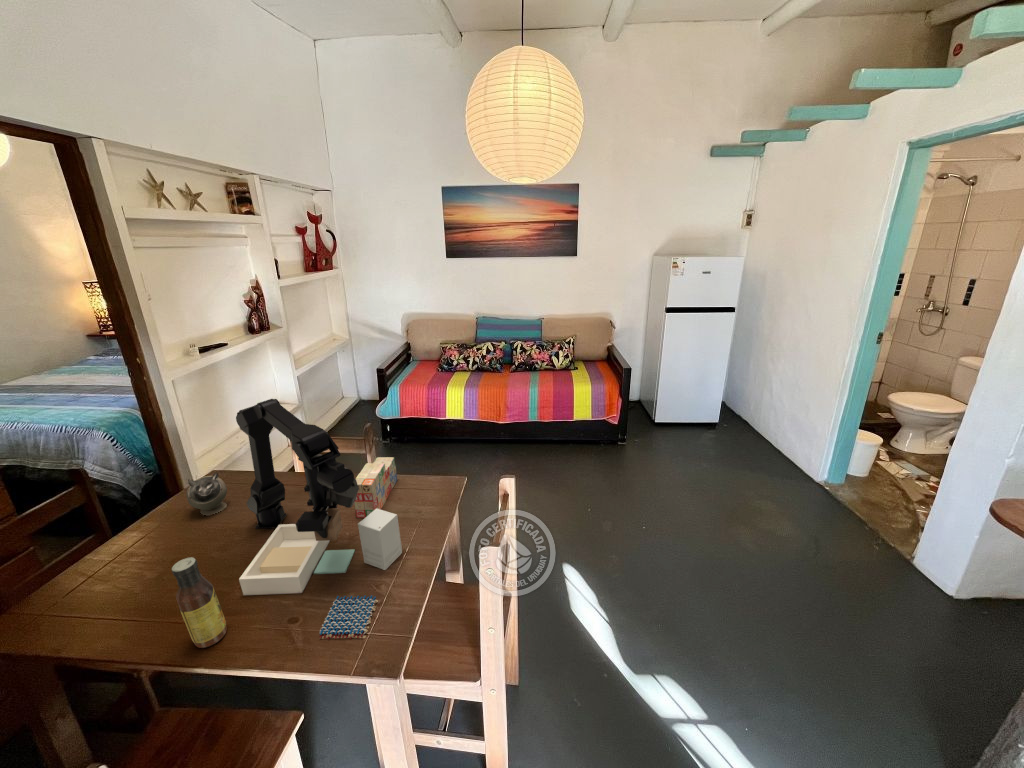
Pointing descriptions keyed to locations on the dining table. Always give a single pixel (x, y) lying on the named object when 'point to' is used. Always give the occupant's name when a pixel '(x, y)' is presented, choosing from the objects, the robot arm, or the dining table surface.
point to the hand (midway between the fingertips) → (329, 530)
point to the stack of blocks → (374, 485)
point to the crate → (283, 562)
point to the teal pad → (334, 561)
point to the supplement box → (380, 538)
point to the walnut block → (332, 525)
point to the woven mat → (348, 618)
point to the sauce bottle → (198, 604)
